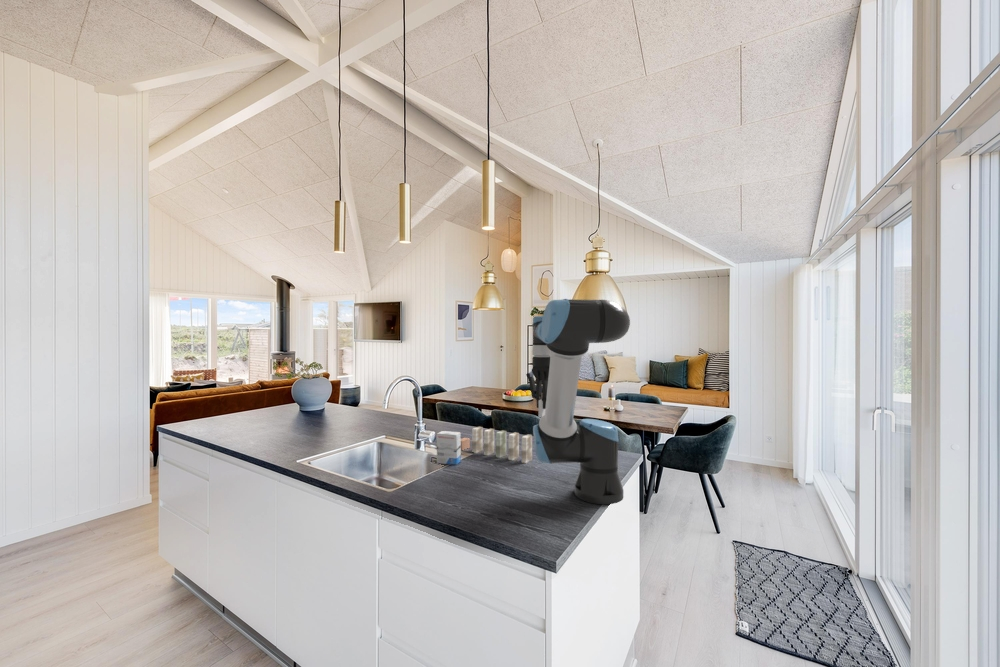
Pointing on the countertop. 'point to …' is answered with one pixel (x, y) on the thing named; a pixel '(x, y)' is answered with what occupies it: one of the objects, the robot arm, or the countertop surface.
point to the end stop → (465, 443)
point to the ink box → (448, 447)
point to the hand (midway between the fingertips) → (541, 416)
